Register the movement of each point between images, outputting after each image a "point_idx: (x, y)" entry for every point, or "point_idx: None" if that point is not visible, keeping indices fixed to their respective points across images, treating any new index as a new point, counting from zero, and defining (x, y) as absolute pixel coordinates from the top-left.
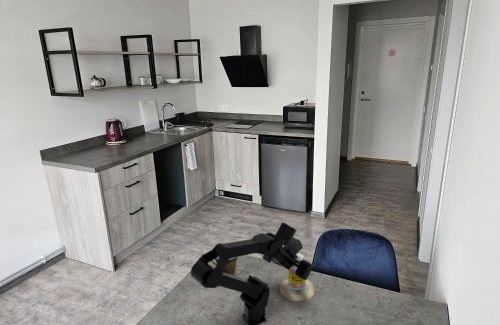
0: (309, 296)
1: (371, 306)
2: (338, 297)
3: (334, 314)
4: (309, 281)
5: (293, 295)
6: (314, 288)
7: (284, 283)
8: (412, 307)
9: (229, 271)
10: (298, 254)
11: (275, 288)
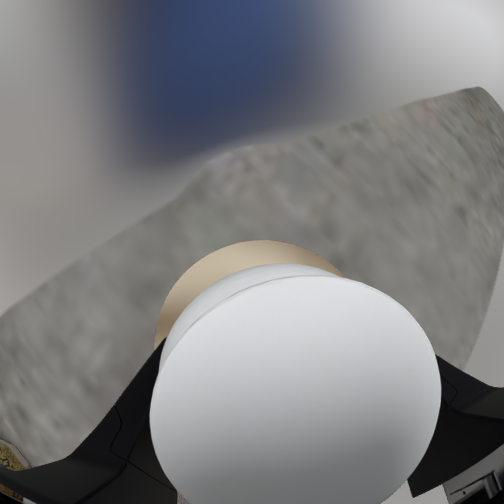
0: None
1: (471, 172)
2: (410, 215)
3: (466, 308)
4: (262, 247)
5: None
6: (329, 270)
7: None
8: (481, 114)
9: (22, 499)
10: (242, 344)
11: None
